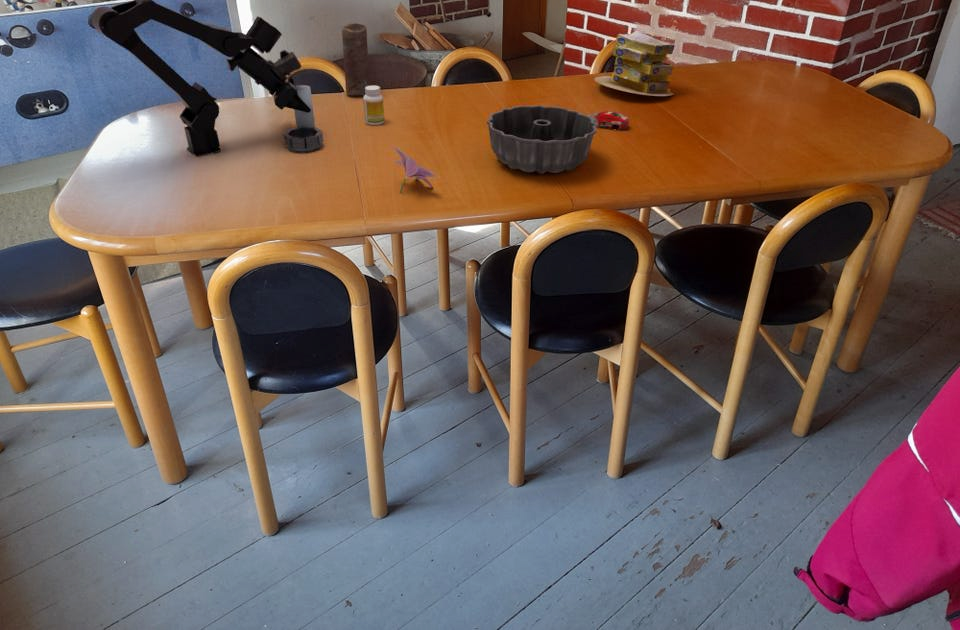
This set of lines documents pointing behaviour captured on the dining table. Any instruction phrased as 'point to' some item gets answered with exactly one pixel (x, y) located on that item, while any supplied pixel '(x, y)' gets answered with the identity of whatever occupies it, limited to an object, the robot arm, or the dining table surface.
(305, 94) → the peg
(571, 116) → the bundt pan
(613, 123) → the race car
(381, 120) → the supplement bottle
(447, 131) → the dining table surface
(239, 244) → the dining table surface
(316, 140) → the socket collar
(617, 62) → the stacked boxes on plate
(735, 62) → the dining table surface
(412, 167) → the lily
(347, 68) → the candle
